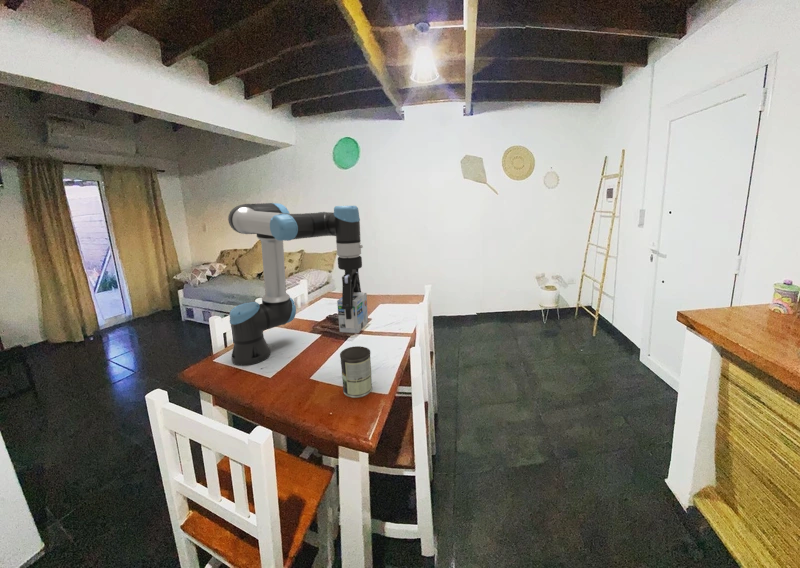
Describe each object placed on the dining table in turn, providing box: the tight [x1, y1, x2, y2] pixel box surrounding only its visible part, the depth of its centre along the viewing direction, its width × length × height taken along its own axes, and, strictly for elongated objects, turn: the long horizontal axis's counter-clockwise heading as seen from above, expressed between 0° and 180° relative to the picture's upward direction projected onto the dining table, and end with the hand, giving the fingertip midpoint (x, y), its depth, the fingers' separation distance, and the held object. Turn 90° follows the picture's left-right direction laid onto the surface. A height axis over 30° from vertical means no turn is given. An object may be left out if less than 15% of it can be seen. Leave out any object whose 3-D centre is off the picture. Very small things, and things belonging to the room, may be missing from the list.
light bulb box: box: [336, 291, 369, 334], centre depth 103 cm, size 11×7×11 cm, turn 168°
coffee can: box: [339, 345, 373, 399], centre depth 108 cm, size 10×10×14 cm
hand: (353, 321), depth 104 cm, fingers closed on light bulb box, 11 cm apart
